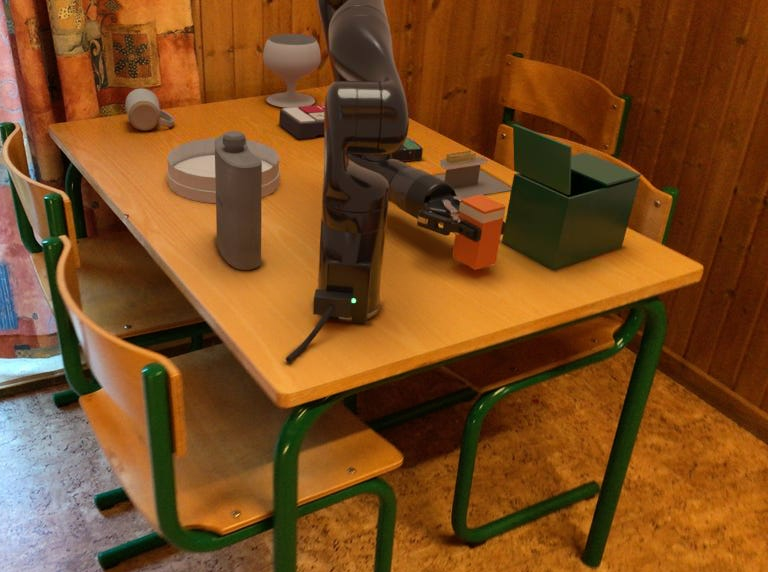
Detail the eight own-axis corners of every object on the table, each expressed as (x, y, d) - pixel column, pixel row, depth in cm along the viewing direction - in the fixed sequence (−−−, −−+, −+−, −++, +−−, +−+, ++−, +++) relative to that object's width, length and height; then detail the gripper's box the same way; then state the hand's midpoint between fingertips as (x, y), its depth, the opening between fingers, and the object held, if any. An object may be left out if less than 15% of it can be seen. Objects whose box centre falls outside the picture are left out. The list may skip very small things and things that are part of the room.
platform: (403, 180, 169) (407, 148, 165) (478, 168, 175) (483, 137, 172) (435, 202, 160) (440, 169, 156) (513, 189, 166) (519, 157, 163)
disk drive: (357, 167, 175) (422, 160, 178) (357, 154, 173) (424, 147, 177) (340, 149, 183) (403, 143, 187) (340, 137, 181) (404, 131, 185)
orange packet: (475, 270, 134) (484, 211, 128) (451, 256, 138) (460, 199, 132) (495, 264, 136) (506, 206, 130) (472, 250, 140) (481, 193, 134)
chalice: (329, 105, 209) (332, 42, 200) (281, 113, 202) (282, 49, 194) (299, 90, 218) (301, 30, 210) (252, 98, 212) (252, 36, 204)
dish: (256, 211, 155) (256, 185, 152) (147, 193, 160) (145, 168, 158) (294, 169, 172) (295, 145, 170) (195, 154, 178) (194, 131, 175)
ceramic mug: (129, 133, 188) (126, 98, 184) (126, 121, 195) (124, 88, 190) (176, 131, 190) (175, 97, 186) (172, 120, 197) (171, 87, 193)
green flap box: (553, 270, 138) (570, 194, 131) (501, 242, 146) (514, 169, 139) (621, 247, 146) (641, 174, 138) (569, 222, 154) (585, 152, 147)
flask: (210, 233, 147) (207, 119, 135) (243, 230, 148) (242, 117, 137) (228, 273, 135) (226, 151, 123) (264, 269, 136) (265, 149, 125)
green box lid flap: (570, 194, 131) (568, 195, 131) (515, 169, 139) (513, 170, 139) (571, 146, 125) (569, 147, 125) (514, 123, 134) (512, 124, 134)
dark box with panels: (359, 116, 190) (299, 120, 185) (357, 135, 193) (298, 139, 187) (337, 102, 199) (279, 105, 193) (335, 120, 201) (278, 124, 195)
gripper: (389, 181, 138) (460, 219, 126) (455, 166, 145) (528, 201, 133) (385, 224, 142) (453, 264, 130) (450, 207, 149) (520, 244, 137)
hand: (491, 232), depth 132 cm, fingers closed on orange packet, 4 cm apart
